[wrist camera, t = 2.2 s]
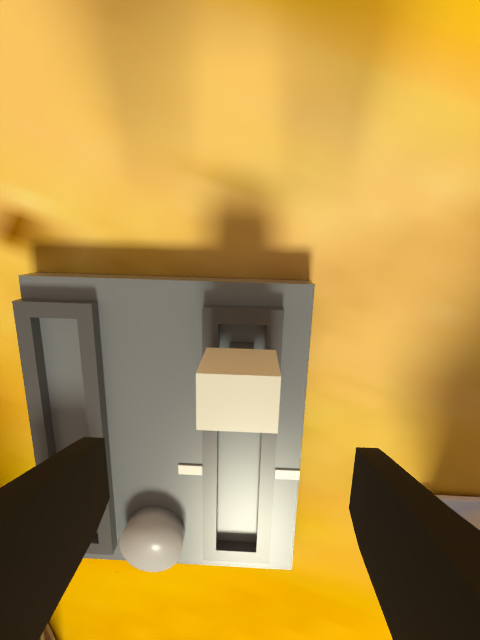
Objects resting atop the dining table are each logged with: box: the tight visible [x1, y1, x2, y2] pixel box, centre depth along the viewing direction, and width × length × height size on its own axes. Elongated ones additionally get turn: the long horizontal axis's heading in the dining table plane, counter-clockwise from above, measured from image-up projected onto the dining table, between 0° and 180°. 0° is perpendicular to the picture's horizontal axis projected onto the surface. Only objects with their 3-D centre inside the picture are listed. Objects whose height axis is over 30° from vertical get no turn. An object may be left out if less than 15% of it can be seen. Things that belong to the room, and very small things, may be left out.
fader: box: [196, 342, 281, 434], centre depth 15 cm, size 3×2×5 cm
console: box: [12, 272, 315, 572], centre depth 19 cm, size 15×18×3 cm
